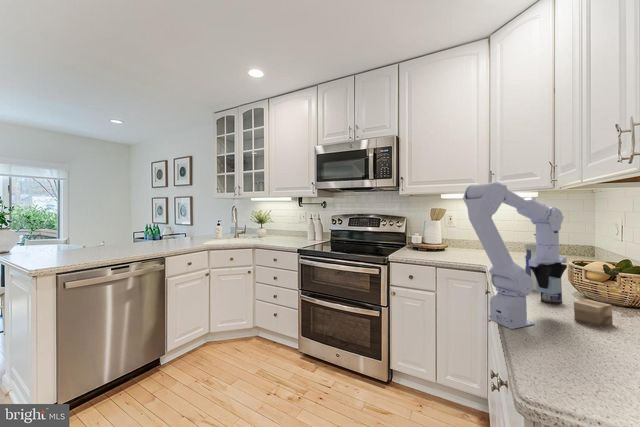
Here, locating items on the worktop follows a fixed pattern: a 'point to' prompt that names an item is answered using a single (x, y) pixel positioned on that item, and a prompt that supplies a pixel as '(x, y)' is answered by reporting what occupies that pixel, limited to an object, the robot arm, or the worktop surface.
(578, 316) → the slab lower
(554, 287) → the cube
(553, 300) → the pill bottle
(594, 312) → the slab upper
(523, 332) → the worktop surface
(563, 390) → the worktop surface
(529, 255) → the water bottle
